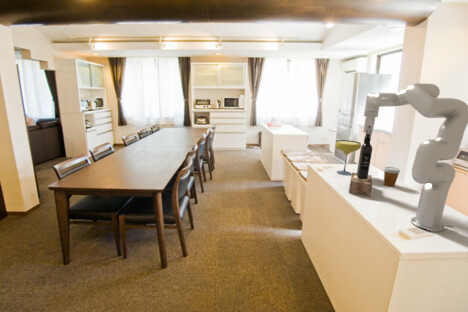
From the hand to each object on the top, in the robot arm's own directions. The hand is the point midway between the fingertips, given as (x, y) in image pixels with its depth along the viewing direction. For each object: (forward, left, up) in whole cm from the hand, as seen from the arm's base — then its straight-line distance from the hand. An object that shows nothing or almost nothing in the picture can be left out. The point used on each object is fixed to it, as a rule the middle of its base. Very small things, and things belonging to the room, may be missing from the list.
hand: (366, 143), depth 156 cm
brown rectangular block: (0, 0, -31) cm, 31 cm away
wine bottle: (0, 0, -23) cm, 23 cm away
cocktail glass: (+12, -33, -32) cm, 47 cm away
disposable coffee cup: (-18, -20, -32) cm, 42 cm away
